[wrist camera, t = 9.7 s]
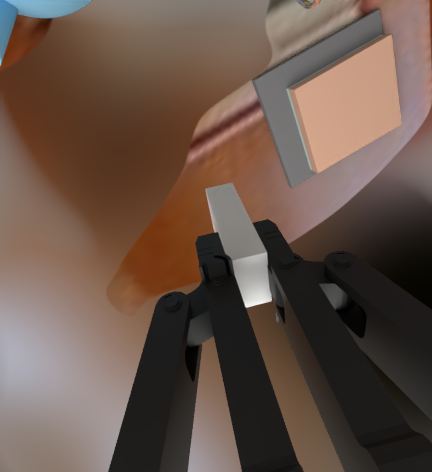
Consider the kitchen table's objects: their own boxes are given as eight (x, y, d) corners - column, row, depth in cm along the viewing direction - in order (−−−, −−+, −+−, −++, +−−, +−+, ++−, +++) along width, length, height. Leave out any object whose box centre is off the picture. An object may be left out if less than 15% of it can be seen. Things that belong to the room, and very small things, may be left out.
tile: (317, 173, 46) (401, 124, 47) (294, 90, 40) (391, 34, 40) (310, 169, 48) (391, 121, 48) (286, 88, 41) (379, 35, 42)
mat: (289, 186, 49) (291, 188, 48) (252, 79, 40) (254, 80, 40) (390, 126, 50) (394, 127, 49) (375, 9, 41) (379, 8, 40)
